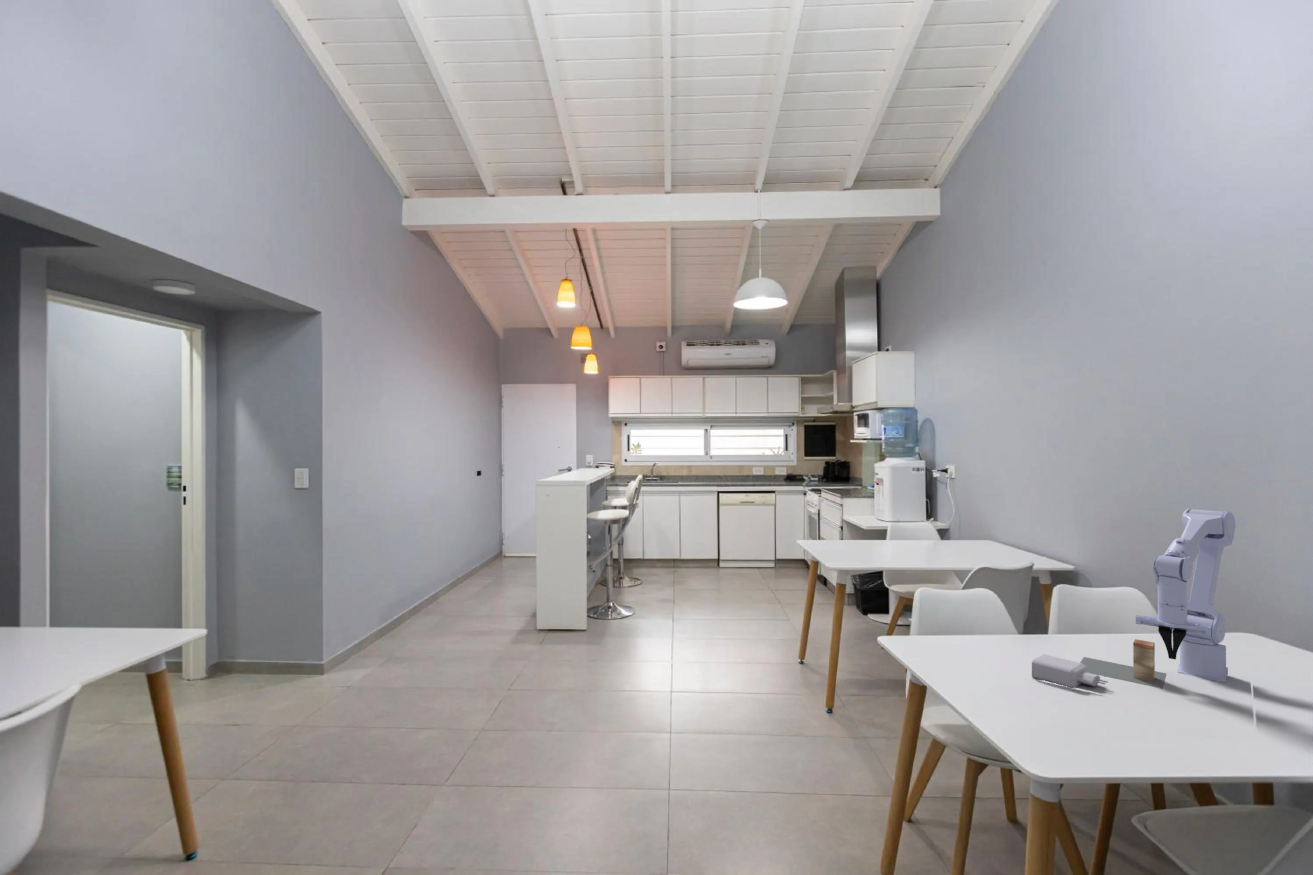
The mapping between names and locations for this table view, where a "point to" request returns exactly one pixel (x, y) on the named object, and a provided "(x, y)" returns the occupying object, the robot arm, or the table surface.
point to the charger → (1063, 672)
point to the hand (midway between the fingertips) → (1172, 657)
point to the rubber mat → (1120, 672)
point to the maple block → (1144, 660)
